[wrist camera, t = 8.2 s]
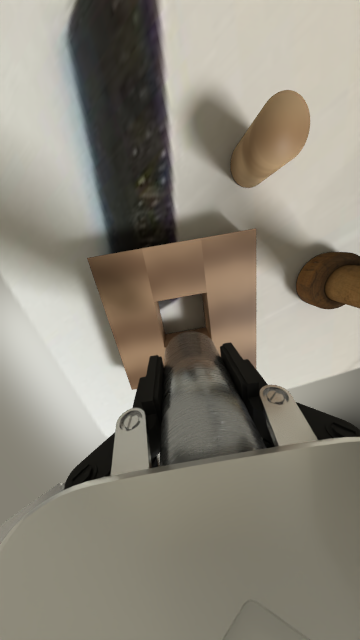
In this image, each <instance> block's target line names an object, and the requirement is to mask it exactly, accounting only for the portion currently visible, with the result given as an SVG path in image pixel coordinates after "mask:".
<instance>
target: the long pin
mask: <svg viewBox="0 0 360 640" xmlns="http://www.w3.org/2000/svg"><path fill="white" fill-rule="evenodd" d="M259 449H266V446H265V444H264V442H263V440H262V438H261V436H260V434H259V432H258V430H257V428H256V426H255V424H254V422H253V420H252V418H251V416H250V414H249V412H248V410H247V408H246V407H245V405H244V403H243V401H242V399H241V397H240V395H239V393H238V391H237V389H236V387H235V385H234V383H233V381H232V379H231V377H230V375H229V373H228V371H227V369H226V367H225V365H224V363H223V361H222V359H221V357H220V355H219V353H218V351H217V349H216V347H215V345H214V343H213V341H212V340H211V339H210V338H209V337H208V336H207V335H205V334H203V333H200V332H195V331H189V332H184V333H181V334H179V335H177V336H175V337H174V338H173V339H171V341H170V342H169V343H168V345H167V347H166V349H165V357H164V379H163V401H162V422H161V444H160V466H166V465H172V464H177V463H183V462H189V461H194V460H200V459H206V458H212V457H218V456H224V455H230V454H235V453H241V452H247V451H253V450H259ZM160 466H159V467H160Z"/></svg>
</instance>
